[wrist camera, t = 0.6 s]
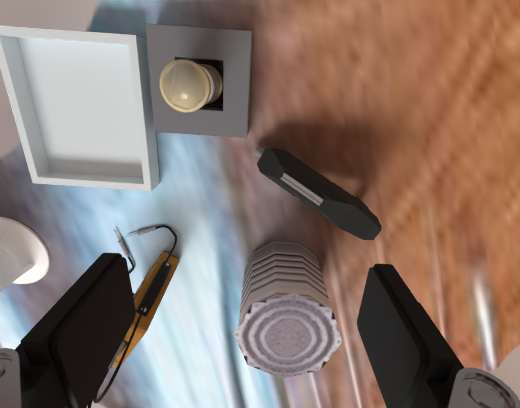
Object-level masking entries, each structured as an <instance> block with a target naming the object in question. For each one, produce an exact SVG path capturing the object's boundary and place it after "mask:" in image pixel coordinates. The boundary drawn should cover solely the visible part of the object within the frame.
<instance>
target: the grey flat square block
mask: <svg viewBox="0 0 520 408" xmlns="http://www.w3.org/2000/svg"><path fill="white" fill-rule="evenodd" d="M145 27H146V39H147V50H148V62H149V73H150V85H151V96H152V107H153V119H154V130H155V132H167V133H182V134H196V135H211V136H226V137H241V138H247V136H248V130H249V108H250V87H251V65H252V43H253V34H252V31H243V30H229V29H215V28H200V27H186V26H172V25H158V24H145ZM183 58H184V59H198V60H212V61H224V69H223V108H214V107H201V108H200V109H197V110H195V111H192V112H181V111H178V110H176V109H174V108H172V107H171V106H170V105H169V104H168V103H167V102H166V101H165V99H164V98H163V96H162V93H161V90H160V76H161V73H162V71H163V69H164V68H165V67H166V66H167V65H168V64H169V63H170V62H172V61H175V60H183Z"/></svg>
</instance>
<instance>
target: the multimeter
mask: <svg viewBox="0 0 520 408" xmlns="http://www.w3.org/2000/svg"><path fill="white" fill-rule="evenodd" d="M161 227H165V228H168V229H169V230H170V231H171V232H172V233H173V234H174V236H175V243H174V246H173V248H172V250H171V252H170V254H168V253H166V252H164V251H163V252H162V254H161V255H160V257H159V258H158V260H157V261H156V263H155V264H154V265H153V267H152V268H151V270H150V271H149V273H148V274H147V276H146V277H145V279H144V280H143V282H142V283H141V285H140V287H139V288H138V290H137V291H136V293H135V295H133V298H134V304H135V309H136V315H135V319H134V321H133V323H132V325H131V327H130V329H129V330H128V332H127V334H126V336H125V338H124V340H123V341H122V343H121V345H120V347H119V349H118V351H117V352H116V354H115V356H114V358H113V360H112V362H111V363H110V365H109V367H108V369H107V371H106V373H105V374H104V376H103V378H102V380H101V382H100V384H99V385H98V387H97V389H96V391H95V393H94V395H93V396H92V398H91V400H90V402H89V404H88V408H91V404H92V401H94V403H98V402H99V401H100V400H101V399H102V398H103V397H104V395H105V394H106V393H107V391H108V389H109V388H110V386H111V384H112V382H113V380H114V378H115V376H116V375H117V373H118V370H119V368H120V366H121V365H122V363H123V362H124V361H125V359H126V358H127V357H128V355H129V354H130V353H131V351H132V350H133V349H134V347H135V346H136V345H137V343H138V342H139V341H140V340H141V338H142V337H143V336H144V334H145V333H146V331H147V329H148V327H149V325H150V323H151V321H152V319H153V317H154V315H155V313H156V310H157V308H158V306H159V304H160V302H161V300H162V298H163V296H164V293H165V291H166V289H167V287H168V285H169V283H170V281H171V278H172V276H173V274H174V272H175V270H176V268H177V266H178V263H179V261H180V260H179V259H177V258H175V257H173V256H172V255H171V254H172V252H173V250H174V248H175V245H176V242H177V236H176V234H175V233H174V231H173V230H172V229H171V228H170V227H168V226H164V225H163V226H157V227H151V228H148V229H145V230H141V231H137V233H135V234H131V235H128V236H126V237H129V236H133V235H136V234H138V235H140V234H143V233H147V232H150V231H153V230H155V229H157V228H161ZM114 232H115V234H116V235H117V237H118V239H119V241H118V242H119V244H120V246H121V247H122V249H123V251H124V253H125V255H126V256H127V257H128V259H129V260H130V262H131V264H132V267H133V268H132V270H131V271H129V274H130V273H131V272H132V271H133V270H134V264H133V262H132V260H131V258H130V257H129V253H128V251H127V249H126V247H125V245H124V243H123V240H120V238H119V236H118V234H117V232H116V230H115V229H114ZM112 365H114V366H116V367H117V368H116V370H115V372H114V374H113V376H112V378H111V380H110V382H109V384H108V386H107V387H106V389H105V390H104V392H103V393H102V395H101V396H100V397H99V398H98V399H96V398H97V393H98V390H99V388H100V386H101V384H102V382H103V381H104V379H105V377H106V375H107V373H108V371H109V370H110V369H111V367H112Z"/></svg>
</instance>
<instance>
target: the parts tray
mask: <svg viewBox="0 0 520 408" xmlns="http://www.w3.org/2000/svg"><path fill="white" fill-rule="evenodd" d="M0 68H1V72H2V76H3V79H4V82H5V86H6V90H7V93H8V97H9V100H10V104H11V107H12V111H13V115H14V118H15V121H16V125H17V129H18V132H19V136H20V140H21V143H22V147H23V150H24V154H25V157H26V161H27V164H28V168H29V171H30V175H31V179H32V182H33V183H38V184H53V185H68V186H83V187H98V188H113V189H128V190H143V191H152V190H153V189H154V188H155V187H156V186H157V185H158V184H159V183H160V176H159V164H158V152H157V141H156V132H155V130H154V119H153V107H152V96H151V85H150V73H149V62H148V50H147V39H146V38H143V37H140V36H137V35H127V34H113V33H98V32H84V31H70V30H56V29H42V28H28V27H12V26H0Z"/></svg>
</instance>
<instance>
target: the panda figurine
mask: <svg viewBox="0 0 520 408" xmlns="http://www.w3.org/2000/svg"><path fill="white" fill-rule="evenodd" d="M49 267H50V256H49V252H48V249H47V247H46V246H45V244H44V242H43V241H42V240H41V239H40V237H39V236H38V235H37V234H36V233H35V232H33V231H32V230H31V229H30V228H28V227H27V226H25V225H23V224H21V223H19V222H17V221H15V220H12V219H9V218H5V217H0V292H1V291H3V290H4V289H5V288H6V287H7V286H9V285H10V284H11V283H16V284H28V283H33V282H36V281H38V280H39V279H41V278H42V277H43V276H44V275H45V274H46V273H47V272H48V270H49Z"/></svg>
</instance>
